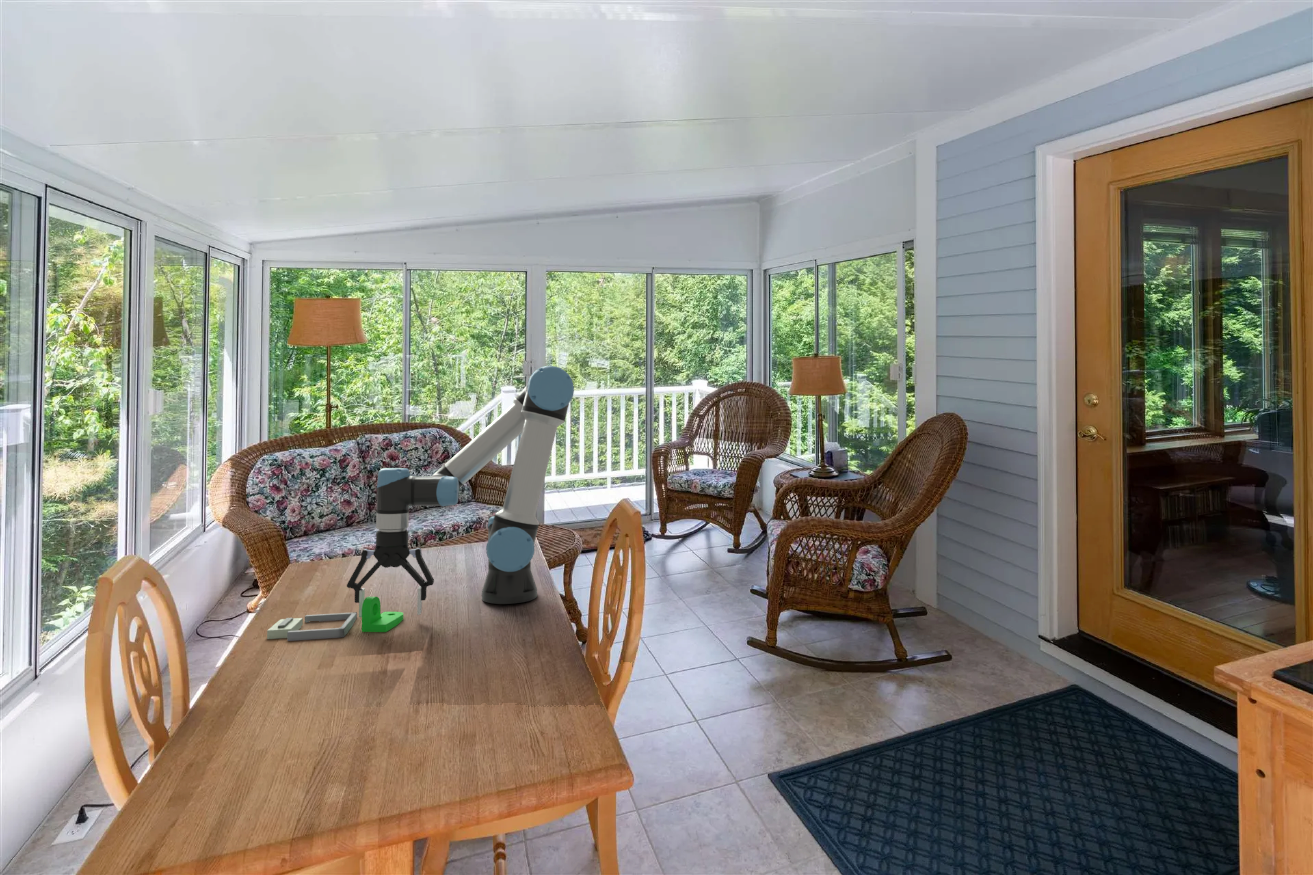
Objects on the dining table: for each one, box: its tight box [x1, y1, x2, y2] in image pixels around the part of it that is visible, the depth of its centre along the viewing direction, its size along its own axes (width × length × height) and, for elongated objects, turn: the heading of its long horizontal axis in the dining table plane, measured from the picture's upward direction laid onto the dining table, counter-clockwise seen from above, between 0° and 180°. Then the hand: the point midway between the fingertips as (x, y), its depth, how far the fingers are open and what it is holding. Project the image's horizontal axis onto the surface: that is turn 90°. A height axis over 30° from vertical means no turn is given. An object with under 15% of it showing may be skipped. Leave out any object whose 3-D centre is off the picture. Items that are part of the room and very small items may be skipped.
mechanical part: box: [361, 596, 404, 633], centre depth 166 cm, size 12×6×8 cm, turn 177°
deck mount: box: [266, 611, 358, 642], centre depth 161 cm, size 17×16×3 cm
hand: (390, 614), depth 166 cm, fingers open, 13 cm apart
